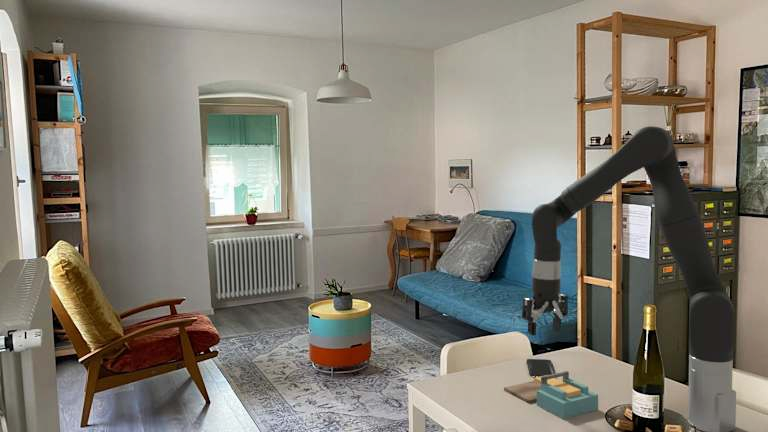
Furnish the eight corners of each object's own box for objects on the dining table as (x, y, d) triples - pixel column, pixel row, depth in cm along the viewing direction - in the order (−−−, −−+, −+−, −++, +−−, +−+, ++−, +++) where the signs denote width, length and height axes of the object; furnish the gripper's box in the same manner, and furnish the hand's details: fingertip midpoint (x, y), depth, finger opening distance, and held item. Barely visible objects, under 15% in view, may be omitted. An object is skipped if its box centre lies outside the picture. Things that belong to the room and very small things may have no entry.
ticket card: (580, 394, 155) (580, 389, 155) (567, 397, 153) (567, 393, 153) (547, 379, 166) (547, 375, 166) (534, 382, 164) (534, 377, 164)
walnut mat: (568, 393, 166) (568, 391, 166) (528, 403, 160) (528, 400, 160) (542, 381, 176) (542, 379, 176) (503, 390, 170) (503, 387, 169)
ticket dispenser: (598, 409, 154) (598, 381, 154) (563, 418, 149) (562, 389, 149) (570, 396, 163) (570, 370, 163) (536, 405, 158) (536, 377, 158)
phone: (550, 359, 193) (555, 375, 179) (550, 363, 193) (555, 378, 179) (526, 358, 195) (529, 374, 180) (526, 362, 195) (529, 377, 180)
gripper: (535, 280, 156) (533, 340, 157) (576, 276, 162) (573, 333, 164) (517, 275, 163) (515, 332, 164) (557, 271, 169) (554, 326, 170)
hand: (544, 333), depth 164 cm, fingers open, 8 cm apart
